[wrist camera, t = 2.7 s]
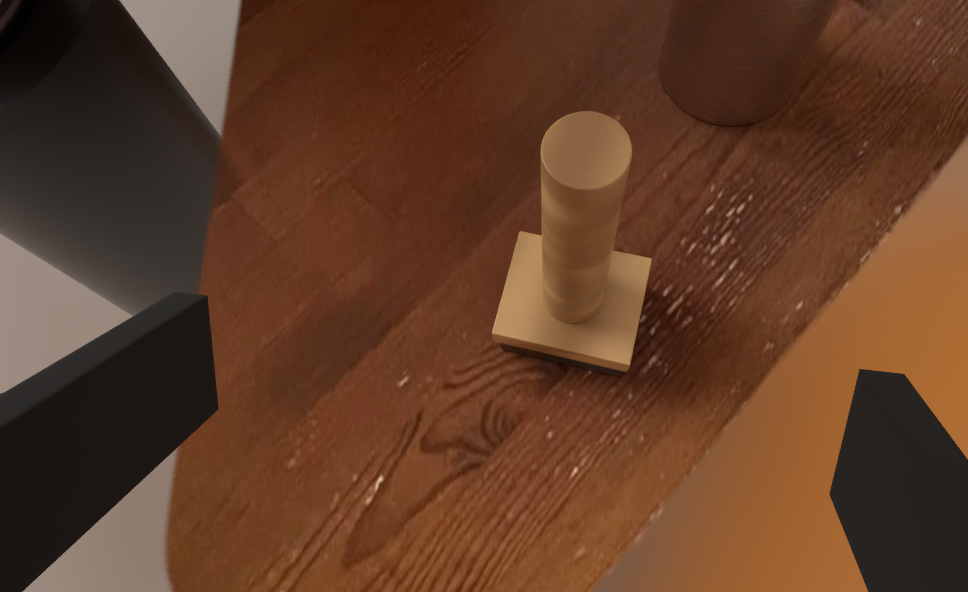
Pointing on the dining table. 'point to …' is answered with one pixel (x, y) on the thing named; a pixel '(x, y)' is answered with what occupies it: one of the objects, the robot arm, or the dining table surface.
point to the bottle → (738, 55)
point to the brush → (576, 255)
